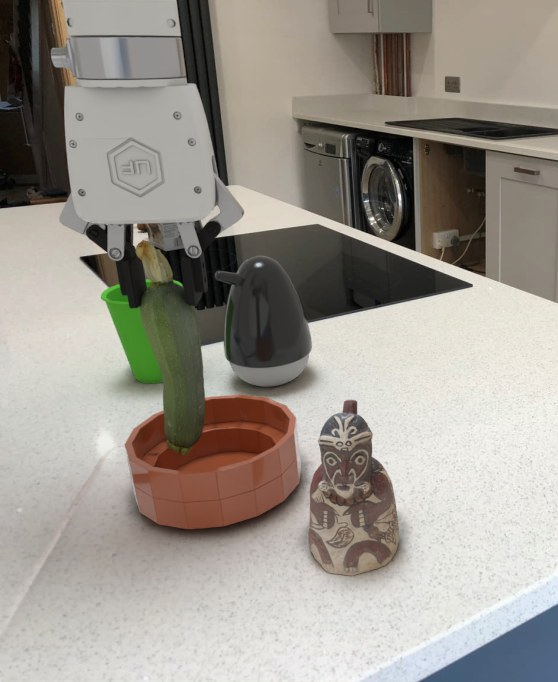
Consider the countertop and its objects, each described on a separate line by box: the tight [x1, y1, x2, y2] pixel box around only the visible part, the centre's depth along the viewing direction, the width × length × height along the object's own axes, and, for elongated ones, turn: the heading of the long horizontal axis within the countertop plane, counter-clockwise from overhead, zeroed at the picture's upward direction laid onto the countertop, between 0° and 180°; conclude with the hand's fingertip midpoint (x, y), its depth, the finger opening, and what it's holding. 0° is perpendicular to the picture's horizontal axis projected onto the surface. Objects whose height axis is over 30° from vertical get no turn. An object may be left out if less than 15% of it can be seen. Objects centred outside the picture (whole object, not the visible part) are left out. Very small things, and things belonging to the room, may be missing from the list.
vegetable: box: [135, 239, 206, 456], centre depth 62 cm, size 4×4×20 cm
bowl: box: [123, 394, 302, 530], centre depth 66 cm, size 14×14×6 cm
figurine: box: [307, 399, 400, 577], centre depth 57 cm, size 7×7×12 cm
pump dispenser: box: [214, 255, 313, 388], centre depth 86 cm, size 10×10×15 cm
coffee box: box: [146, 222, 185, 252], centre depth 147 cm, size 9×6×16 cm
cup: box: [100, 278, 184, 384], centre depth 88 cm, size 9×9×11 cm
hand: (167, 299), depth 60 cm, fingers closed on vegetable, 3 cm apart
